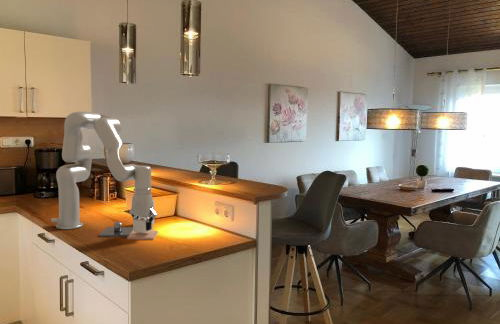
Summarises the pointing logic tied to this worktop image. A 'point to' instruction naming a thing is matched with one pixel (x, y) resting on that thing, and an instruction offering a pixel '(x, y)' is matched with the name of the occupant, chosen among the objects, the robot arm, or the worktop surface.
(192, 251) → the worktop surface
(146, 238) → the coaster
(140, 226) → the pale grey cube
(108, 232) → the post base
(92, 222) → the worktop surface
